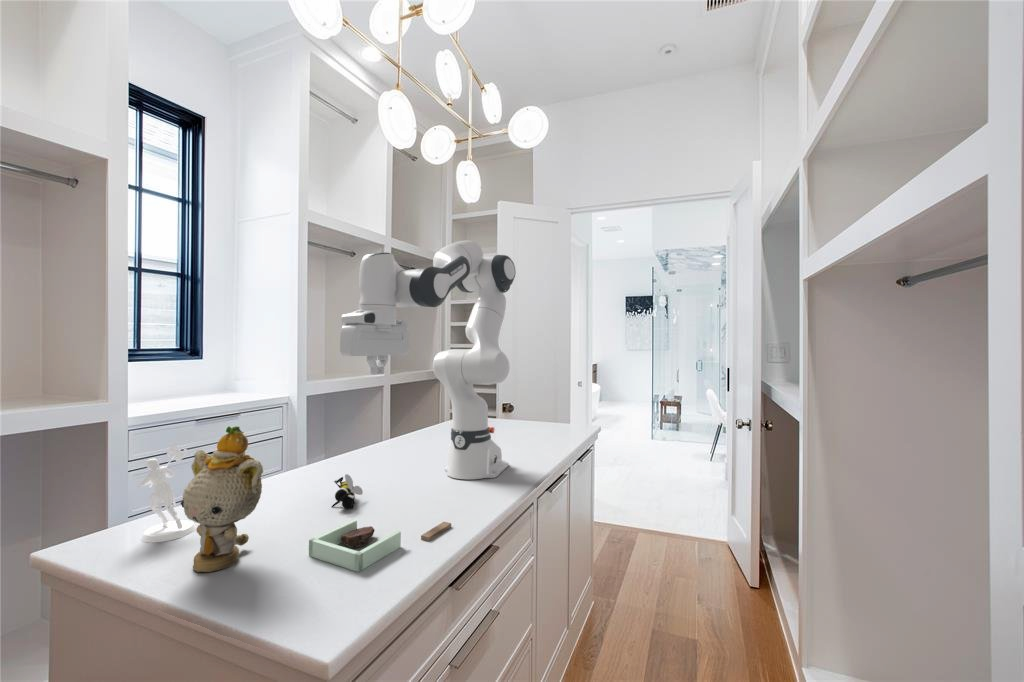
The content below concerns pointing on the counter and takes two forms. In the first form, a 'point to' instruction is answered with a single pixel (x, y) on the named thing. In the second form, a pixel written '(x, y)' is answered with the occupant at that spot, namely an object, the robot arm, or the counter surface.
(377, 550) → the green u-shaped bracket
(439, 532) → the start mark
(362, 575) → the counter surface
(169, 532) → the figurine
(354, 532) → the stone
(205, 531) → the figurine
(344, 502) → the toy
